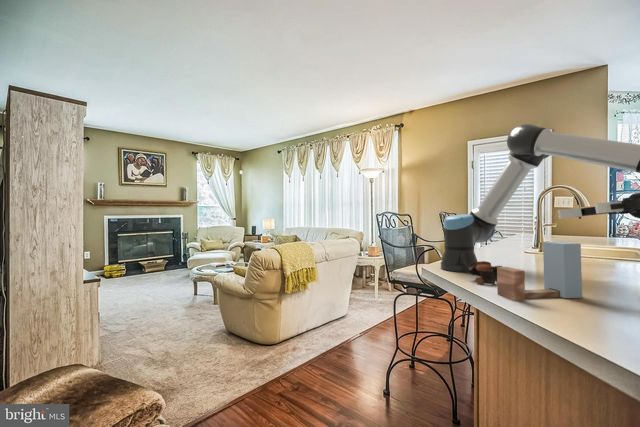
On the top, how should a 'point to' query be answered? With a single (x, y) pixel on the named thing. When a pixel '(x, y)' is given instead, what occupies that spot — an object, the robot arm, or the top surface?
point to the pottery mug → (483, 272)
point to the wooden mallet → (518, 286)
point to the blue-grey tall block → (563, 268)
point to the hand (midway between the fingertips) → (576, 211)
